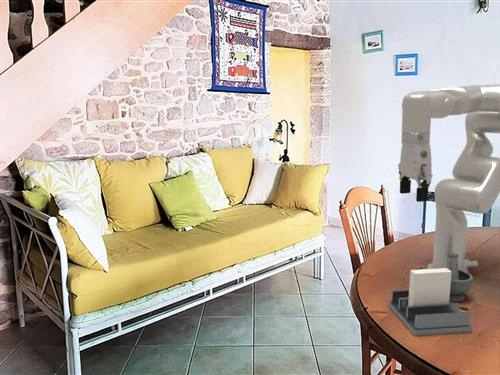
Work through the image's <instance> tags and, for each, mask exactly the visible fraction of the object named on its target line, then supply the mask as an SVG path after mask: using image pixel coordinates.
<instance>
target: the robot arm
mask: <svg viewBox="0 0 500 375" xmlns="http://www.w3.org/2000/svg"><path fill="white" fill-rule="evenodd" d="M401 109H402V111H401V112H402V114H401V118H402V119H401V142H400V143H401V150H400V159H399V160H400V161H399V163H398V164H397V165H398V174H399V178H398V179H399V194H402V195H403V194H404V195H405V194H410V193H411V191H412V190H411V188H412V185H411V184H412V180H413V181H416V183H417V187H416V195H415V196H416V197H415V198H416V200H415V201H416V202H418V203H420V202H421V203H422V202H428V201H429V189H430V186H431V183H432V180H433V179H432V178H433V173H432V172H433V170H432V163H433V162H432V148H431V144H430V141H431V125H432V124H431V122H432V121H431V120H432V119H445V118H447V117H449V116H459V115H460V116H461V115H465V114H466V115H465V119H464V120H465V121H464V123H465V124H464V126H465V134H466V136H465V137H466V144H465V146H464V148H463V150H462V152H461V153H460V155H459V156H458V158H457V160H456V161H455V164H454V166H453V168H452V176H453V178H446V179H445V178H444V179H442V180H440V181H439V182H438V183H437V184H436V186H435V188H434V203H435V210H436V211H435V228H434V239H433V240H434V242H433V243H434V244H433V257H432V262H430V263H429V264H427V268H426V269H439V268H447V269H449V256H448V255H449V254H450V253H456V254H458V256H459V257H458V270H462V271H465V272H467V273H469V270H468V268H470V267H473V268H475V267H478V266H479V262H478V260H470V259H468V258H467V259H466V258H465V256H466V255H465V254H466V245H467V234H468V232H467V231H468V219H467V216H466V215H465V212H469V213H473V214H481V215H482V214H487V213H488V212H489V211H490V210H491V209H492V207H493V206H494V204H495V202H496V201H497V198H498V197H499V194H500V157H495V156H492V154H493V151H494V146H493V144H492V143H491V141H490V139H489V138H488V137H487V135H486V133H490V134H500V83H499V84H473V85H472V84H471V85H465V86H454V87H445V88H438V89H429V90H427V89H426V90H420V91H418V90H417V91H411V92H409V93H408V94H406V95H404V96H403V100H402V102H401Z"/></svg>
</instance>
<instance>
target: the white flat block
mask: <svg viewBox="0 0 500 375" xmlns="http://www.w3.org/2000/svg"><path fill="white" fill-rule="evenodd" d="M450 284H451V271H450V270H448V269H447V268H439V269H427V268H422V269H411V270H410V272H409V288H408V289H409V301H408V306H417V305H432V304H448V303H450V300H449V296H450Z"/></svg>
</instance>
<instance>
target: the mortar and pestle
mask: <svg viewBox="0 0 500 375" xmlns="http://www.w3.org/2000/svg"><path fill="white" fill-rule="evenodd" d="M448 256H449V269H448V270H450V271H451V284H450V298H449V301H451V302H452V301H453V302H462V301H464V300H465V294H466V293H468V292H469V291H470V290H471V289H472V286H473V283H474V277H473V276H472V274H471V273H469V272H468V273H467V272H465V271H462V270H458V257H459V256H458V254H456V253H450V254H449V255H448Z"/></svg>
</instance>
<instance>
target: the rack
mask: <svg viewBox="0 0 500 375" xmlns="http://www.w3.org/2000/svg"><path fill="white" fill-rule="evenodd" d="M390 294H391V296H390V301H388V307H389V309H391V311H392V312H393V313H394V314H395V316H396V317H397V318H398V319H399V320H400V321H401V322H402V323H403V324H404V326H405V327H406V328H407V329H408V330H409V332H410V333H411V334H412V335H413V336H414V337H419V336H420V335H421V336H433V335H445V334H457V333H460V334H463V333H472V330H473V329H472V328H473V326H472V325H471V324H470V323H471V322H470V320H471V312H470V311H460V303H459V302H449V303H448V304H432V305H417V306H408V301H409V288H408V289H394V290H393V289H391V293H390ZM449 298H450V296H449Z"/></svg>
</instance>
